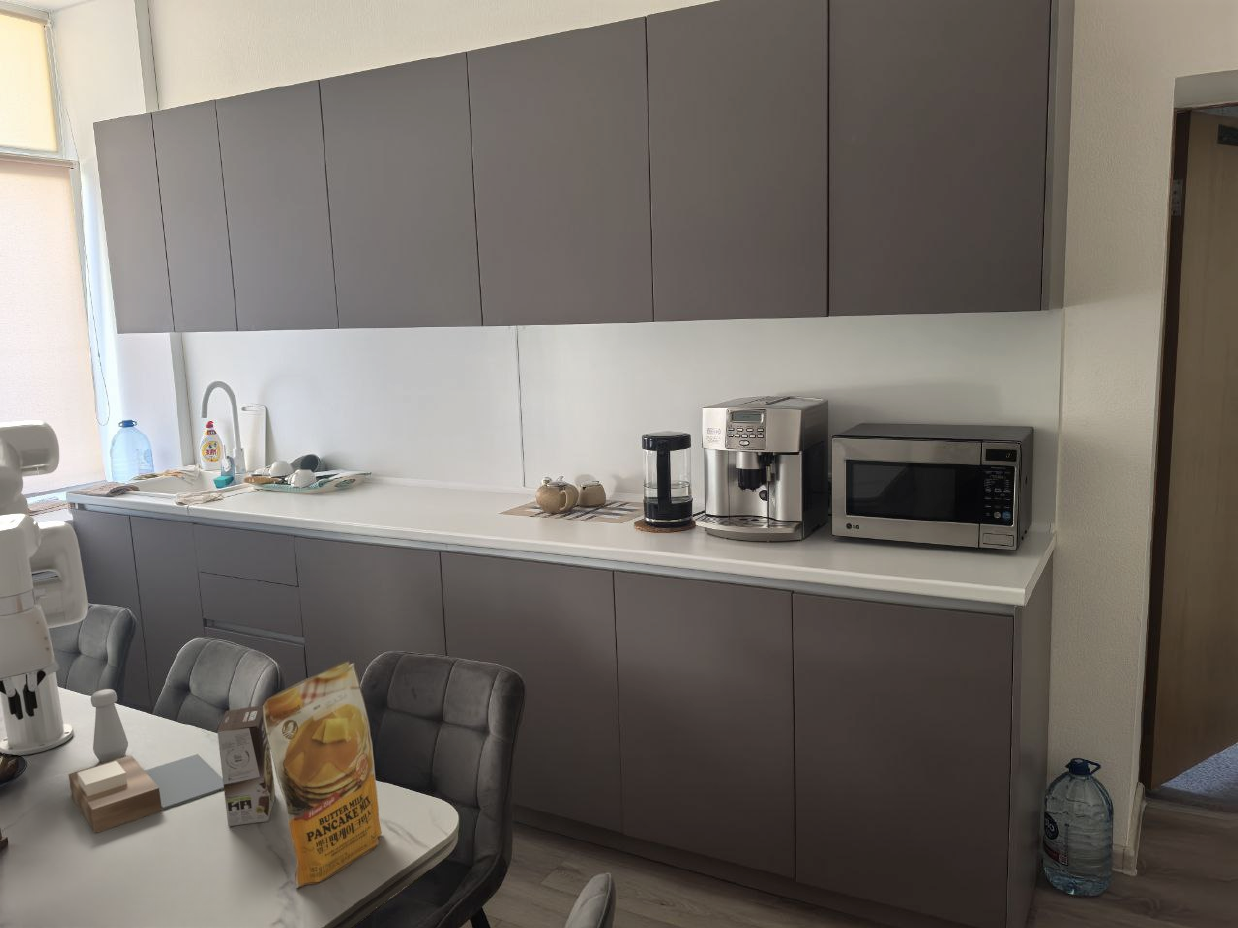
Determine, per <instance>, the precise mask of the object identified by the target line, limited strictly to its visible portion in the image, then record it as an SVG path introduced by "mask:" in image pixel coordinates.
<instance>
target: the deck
mask: <svg viewBox="0 0 1238 928" xmlns="http://www.w3.org/2000/svg"><path fill="white" fill-rule="evenodd" d="M114 761H117V762H118V764H119V765H120V766H121V767H122V769H123V770H124V771H125V772H126V779H127V784H125V785H122V786H119V787H115V788H112V789H109V790H106V791H103V792H100V793H97V794H94V795H90V796H87V795H86V794H85V792H84V791H83V789H82V788H81V786H80V785H79V781H78V774H77V773H78V772H81V771H85V770H88V769H91V768H94V767H98V766H101V765H104V764H108V763H111V762H114ZM68 778H69V779H68V781H69V787H70V794H71V797H72V799H73V800H74V802H75V804H76V805H77V807H78V808H79V810H80V811H81V813H82V814H83V816H84V817H85V820H86V821H87V822H88V823H89V825H90V827H91V828H92V830H93V832H94V833H95V834H97V833H101V832H104V831H106V830H109V829H112V828H115V827H118V826H120V825H123V824H126V823H129V822H133V821H135V820H138V819H141V818H144V817H147V816H150V815H153V814H156V813H158V812H162V811H163V809H162V806H161V798H160V791H159V787H158V786H157V785H156V784H155V782H154V781H153V780H152V779H151V778H150V777H149V775H148V774H147V773H146V772H145V769H144V768H143V767H142V765H140V764H139V762H138V761H137V760H136V759H135V758H134V756H133V755H132V754H130V755H127V756H126V755H125V756H124V757H123V758H120V759H116V760H113V761H110V762H106V763H100V764H97V765H94V766H91V767H87V768H83V769H80V770H77V771H73V772H70V773H68Z"/></svg>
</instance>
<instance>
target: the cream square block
mask: <svg viewBox="0 0 1238 928" xmlns="http://www.w3.org/2000/svg"><path fill="white" fill-rule="evenodd" d="M77 774H78V781H79V785H80V786H81V788H82V789H83V791H84V792H85V794H86V795H87V796H90V795H94V794H97V793H100V792H103V791H106V790H109V789H112V788H115V787H119V786H122V785H125V784H127V779H126V772H125V771H124V770H123V769H122V767H121V766H120V765H119V764H118V762H117V761H114V762H111V763H108V764H104V765H101V766H98V767H94V768H91V769H88V770H85V771H81V772H78V773H77Z"/></svg>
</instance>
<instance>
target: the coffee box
mask: <svg viewBox="0 0 1238 928" xmlns="http://www.w3.org/2000/svg"><path fill="white" fill-rule="evenodd" d="M262 707H263V705H257V706H256V705H255V706H249V707H244V708H243V707H242V708H239V709H231V710H226V711H225V713H224V715H223V718H222V720H221V722H220V724H219V727H218V730H217V739H218V749H219V756H220V757H219V759H220V766H221V774H222V776H221V777H222V778H223V784H224V790H223V791H224V800H225V802H224V803H225V808H226V817H227V826H228V827H232V826H233V827H234V826H241V825H248V824H257V823H262V822H263V823H265V822H268V821H269V820H270V815H271V811H272V808H273V804H274V802H275V801H274V800H275V797H276V790H275V780H274V779H275V778H274V770H273V762H272V761H273V760H272V753H271V749H270V746H269V744H268V741H267V737H266V732H265V727H264V722H263V715H262Z"/></svg>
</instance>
